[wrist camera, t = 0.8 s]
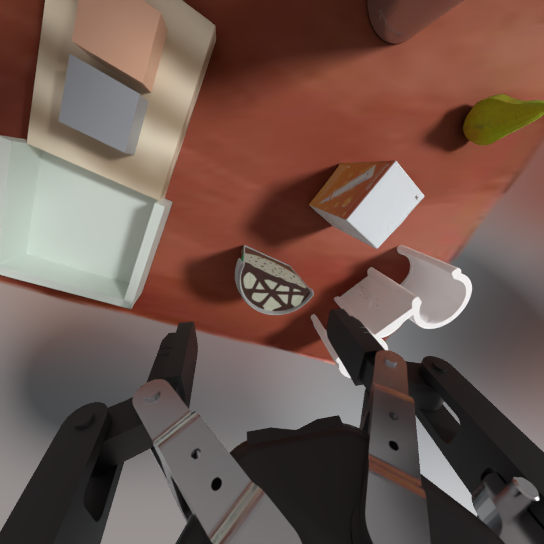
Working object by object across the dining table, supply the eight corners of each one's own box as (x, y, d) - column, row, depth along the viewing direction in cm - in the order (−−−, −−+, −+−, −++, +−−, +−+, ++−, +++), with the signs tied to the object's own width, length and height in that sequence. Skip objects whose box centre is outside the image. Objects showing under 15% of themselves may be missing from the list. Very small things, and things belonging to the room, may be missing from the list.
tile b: (87, 67, 23) (69, 53, 20) (148, 102, 25) (139, 94, 23) (76, 126, 25) (58, 121, 22) (134, 154, 27) (124, 152, 24)
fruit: (486, 135, 38) (589, 122, 27) (454, 152, 38) (544, 145, 27) (487, 92, 35) (602, 58, 24) (452, 111, 35) (551, 85, 25)
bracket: (327, 341, 51) (355, 387, 40) (304, 316, 46) (329, 360, 36) (420, 273, 48) (478, 303, 37) (405, 240, 44) (465, 262, 33)
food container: (220, 272, 39) (220, 302, 30) (235, 241, 37) (240, 263, 28) (280, 295, 43) (295, 327, 34) (296, 268, 41) (317, 295, 32)
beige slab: (78, -62, 22) (57, -95, 19) (216, 40, 26) (215, 25, 24) (45, 145, 27) (26, 143, 25) (164, 198, 32) (159, 200, 30)
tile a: (102, -15, 21) (85, -42, 18) (168, 31, 23) (160, 12, 21) (89, 56, 23) (71, 41, 20) (151, 92, 25) (142, 83, 22)
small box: (339, 162, 35) (397, 158, 23) (364, 188, 38) (427, 196, 26) (306, 205, 37) (345, 220, 25) (332, 227, 39) (378, 250, 28)
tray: (33, 140, 27) (-4, 134, 22) (172, 201, 33) (164, 206, 28) (17, 256, 32) (-17, 270, 27) (141, 292, 37) (130, 308, 33)
